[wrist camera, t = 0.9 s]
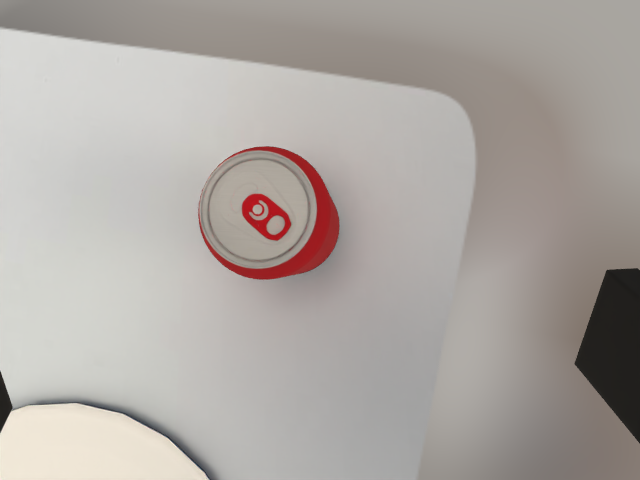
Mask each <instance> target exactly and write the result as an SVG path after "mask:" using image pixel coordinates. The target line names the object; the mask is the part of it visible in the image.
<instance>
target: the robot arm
mask: <svg viewBox="0 0 640 480" xmlns="http://www.w3.org/2000/svg"><path fill="white" fill-rule="evenodd" d="M575 365H576V366H577V367H578V368H579V370H580V371H581V372H582V373H583V375H584V376H585V377H586V378H587V380H589V382H590V383H591V384H592V386H593V387H594V388H595V389H596V391H597V392H598V393H599V394H600V395H601V397H602V398H603V399H604V400H605V402H606V403H607V404H608V405H609V406H610V408H611V409H612V410H613V411H614V413H615V414H616V415H617V416H618V417H619V419H620V420H621V421H622V422H623V423H624V425H625V426H626V427H627V428H628V430H629V431H630V432H631V433H632V434H633V436H634V437H635V438H636V439H637V441H638V442H639V443H640V270H639V269H637V268H636V269H616V270H607V271H606V274H605V277H604V279H603V282H602V285H601V288H600V291H599V294H598V297H597V300H596V303H595V306H594V308H593V311H592V314H591V317H590V320H589V323H588V326H587V329H586V332H585V335H584V338H583V341H582V343H581V346H580V349H579V352H578V355H577V358H576V361H575ZM12 408H13V407H12V404H11V401H10V398H9V395H8V392H7V389H6V386H5V383H4V380H3V378H2V375H1V372H0V433H1V431H2V429H3V427H4V424H5V422H6V420H7V418H8V416H9V414H10V412H11V410H12Z"/></svg>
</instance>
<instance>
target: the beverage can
mask: <svg viewBox="0 0 640 480" xmlns="http://www.w3.org/2000/svg"><path fill="white" fill-rule="evenodd" d="M198 216H199V225H200V229H201V233H202V236H203V239H204V241H205V243H206V245H207V247H208V248H209V250H210V252H211V253H212V254H213V255H214V257H215V258H216V259H217V260H218V261H219V262H220V263H221V264H223V265H224V266H225V267H226V268H228V269H229V270H231V271H233V272H235V273H237V274H239V275H242V276H245V277H248V278H253V279H266V280H267V279H276V278H281V277H286V276H290V275H295V274H300V273H304V272H307V271H310V270H312V269H314V268H316V267H317V266H319V265H320V264H322V263H323V262H324V261H325V260H326V259H327V258H328V256H329V255H330V254H331V252H332V251H333V249H334V247H335V245H336V242H337V239H338V235H339V217H338V213H337V210H336V207H335V205H334V203H333V201H332V199H331V197H330V195H329V192H328V190H327V188H326V186H325V184H324V182H323V180H322V178H321V177H320V175H319V174H318V173H317V171H316V170H315V169H314V168H313V167H312V166H311V165H310V164H309V163H308V162H307V161H306V160H304V159H303V158H302V157H300V156H298V155H297V154H295V153H293V152H290V151H288V150H285V149H281V148H276V147H254V148H250V149H245V150H242V151H240V152H238V153H235V154H233V155H232V156H230V157H229V158H227V159H226V160H224V161H223V162H222V163H221V164H220V165H219V166H218V167H217V168H216V169H215V170H214V171H213V172H212V174H211V175H210V177H209V178H208V180H207V182H206V184H205V186H204V188H203V190H202V193H201V196H200V202H199V214H198Z"/></svg>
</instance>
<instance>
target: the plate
mask: <svg viewBox="0 0 640 480" xmlns="http://www.w3.org/2000/svg"><path fill="white" fill-rule="evenodd" d="M0 480H210V479H209V477H208V476H207V474H206V472H205V471H204V470H203V469H202V468H200V467H199V466H198V465H197V464H196V463H195V462H194V461H193V460H192V459H191V458H190V457H189V456H188V455H187V454H186V453H185V452H184V451H183V450H181V449H180V448H179V447H178V446H177V445H176V444H175V443H174V442H173V441H172V440H171V439H170V438H169V437H167V436H165V435H164V434H162V433H160V432H158V431H156V430H154V429H152V428H151V427H149V426H147V425H145V424H143V423H141V422H140V421H138V420H136V419H134V418H132V417H130V416H128V415H127V414H125V413H121V412H116V411H112V410H107V409H103V408H99V407H94V406H90V405H86V404H81V403H59V404H39V405H28V406H25V407H22V408H19V409H16V410H13V411H11V412H10V414H9V416H8V418H7V420H6V422H5V424H4V427H3V429H2V431H1V433H0Z"/></svg>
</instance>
